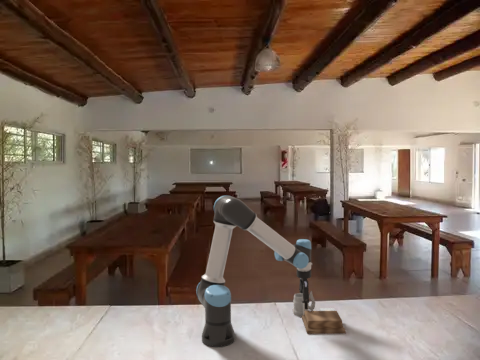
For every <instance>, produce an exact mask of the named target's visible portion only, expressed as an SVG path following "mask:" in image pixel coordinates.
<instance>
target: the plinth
mask: <svg viewBox="0 0 480 360" xmlns="http://www.w3.org/2000/svg"><path fill="white" fill-rule="evenodd" d="M301 320H302V323H303V327H304V329H305V332H306V334H307V335H312V334H313V335H321V334H323V335H326V334H327V335H328V334H330V335H333V334H334V335H335V334H337V335H338V334H340V335H341V334H342V335H343V334H344V335H345V334H347V332H346V331H347V330H346V328H345V327H344V324H343V319H342V318H341V315H340V314H339V312H338V311H337V310H335V311H320V310H313V311H311V310H309V311H305V315H302V316H301Z"/></svg>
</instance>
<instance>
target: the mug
mask: <svg viewBox="0 0 480 360" xmlns="http://www.w3.org/2000/svg"><path fill="white" fill-rule="evenodd" d="M313 295H314V294H313V291H312V290H310V291H309V300H310V301H311V304H310V305H309V311H314V310H315V308H316V301H315V297H314V296H313ZM302 301H303V294H302V293H300V292H299V293H294V295H293V300H292V303H293V307H292V308H293V309H292V314H293V315H294V316H296V317H302V315H303V303H302Z"/></svg>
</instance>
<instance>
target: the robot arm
mask: <svg viewBox="0 0 480 360" xmlns="http://www.w3.org/2000/svg"><path fill="white" fill-rule="evenodd" d="M213 211H214V216H213V220H212V221H213V223H214V232H213V236H212V240H211V246H210V251H209V256H208V260H207V265H206V268H205V269H206V270H205V273H204V274H203V275H201V278H200V282H198V284H197V286H196V290H195V291H196V292H195V293H196V298H197V299H198V301H199V302H200V304H201V305H202V306H203V308H204V311H205V312H204V313H205V314H204V318H205V323H204V326H203V329H202V333H201V341H202V343H203V344H204V345H206V346H210V347H217V348H218V347H219V348H220V347H225V346H229V345H231V344H232V343H234V342H235V340H236V332H235V330H234V327H233V324H232V305H231V304H232V293H231V290H230V288H229V287H227V286H226V285H225V284H226V279H225V277H224V273H225V268H226V264H227V259H228V254H229V249H230V245H231V239H232V237H233V230H234V229H235V228H236V227H238V228H239V229H241V230H243V231H248V232H249V233H251V235H253V236H254V237H256V238H257V240H259V241H260V242H261V243H263V244H265V245H266V246H267V247H268V248H269V249H271V250H273V252H274V253H273V254H274V259H275V260H276V261H278V262H283V261H285V262H287V263H289V264H290V265H292V266H294V267H295V268H296V277H297V279H299V287H298V290H299V291H298V292H299V293H302V294H303V301H302V303H303V315H305V311H310V309H309V306H310V305H309V304H310V298H309V293H310V291H309V281H308V279H309V278H312V270H311V269H312V266H313V262H312V242H311V240H309V239H306V238H305V239H304V238H299V239H297V240H296V243H295V244H292V243H291V242H289V241H288V240H287V239H286V238H284V237H283V236H282V235H280V234H279V233H278V232H277V231H276V230H274V229H273V228H272V227H271V226H269V225H267V223H265V222H264V221H262V219H260V218H259V217H258V216H257V213H256V212H255V211H253V210H252V209H251V208H250V207H249V206H248V205H247V204H246V203H245V202H243V201H242V200H241V199H240V198H237V197H234V196H231V195H221V196H220V197H218V198H217V199H216V200H215V202H214V205H213Z"/></svg>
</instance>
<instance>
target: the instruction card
mask: <svg viewBox="0 0 480 360" xmlns="http://www.w3.org/2000/svg"><path fill="white" fill-rule="evenodd" d="M318 311H336V309H335V307H319V308H318Z"/></svg>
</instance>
